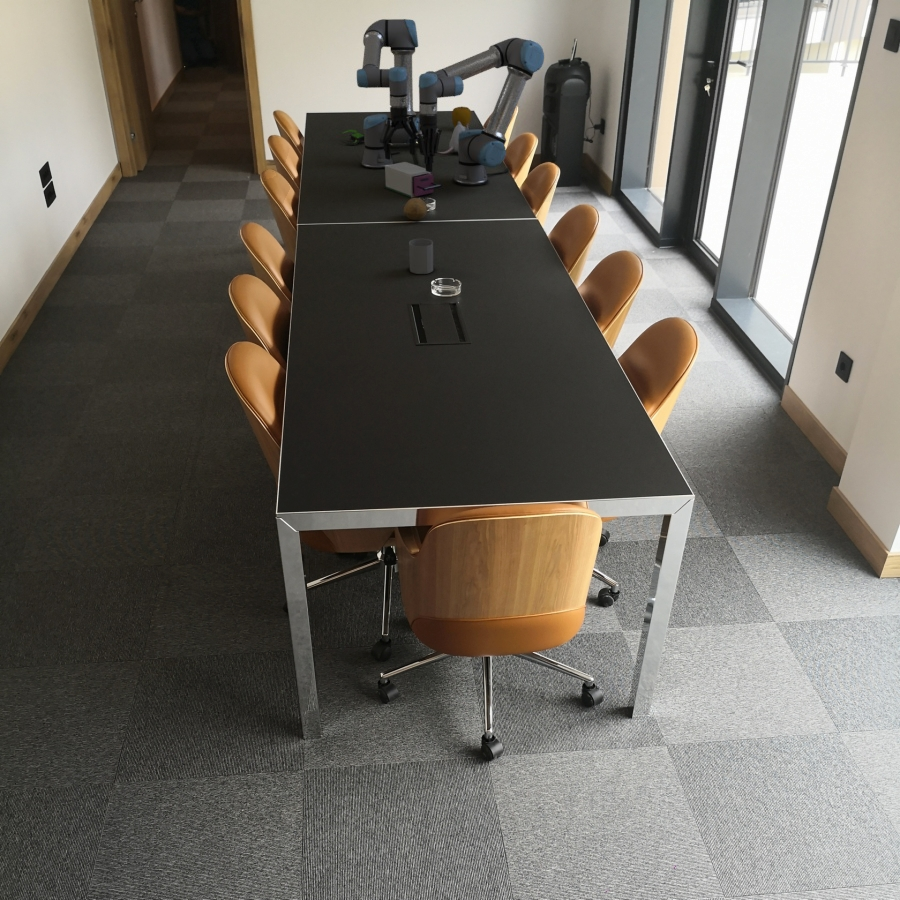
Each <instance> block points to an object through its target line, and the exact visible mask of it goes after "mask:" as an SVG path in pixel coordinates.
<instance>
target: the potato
mask: <svg viewBox="0 0 900 900" xmlns="http://www.w3.org/2000/svg"><path fill="white" fill-rule="evenodd" d="M427 213H428V205H427V203H426V202H425V201H424V200H423V199H421V198H420V197H411V198H410V199H408V201H407V202H406V203H405V204H404V207H403V214H404V216H406V217H407V219H409V220H412V221H420V220H422V219H423V218H425V217H426V214H427Z"/></svg>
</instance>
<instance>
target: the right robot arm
mask: <svg viewBox="0 0 900 900" xmlns="http://www.w3.org/2000/svg"><path fill="white" fill-rule="evenodd" d="M544 61H545V52H544V49H543V46H542V45H541V44H540V43H538V42H536V41H534V40H531V39H526V38H525V39H524V38H520V37H511V38H507V39H504V40H502V41H499V42H496V43H495V44H492V45H490V46H489V47H488V49H486V50H484V51H482V52H479V53H477V54H474V55H472V56H470V57H467V58H465V59H463V60H460V61H457V62H455V63H453V64H451V65H448V66H446V67H443V68H440V69H437V70H436V71H433V70H428V71H426V72H425V73H421V74H420V75H419V77H418V99H419V100H418V102H419V103H418V110H419V111H418V112H419V117H418V118H419V130H418V133H415V135H416V137H417V144H418V149H419V154H420V155H421V156H423V158H424V159H423V160H424V161H423V162H424V164H425V169H426V171H428V172H431V173H432V172H433V164H434V157H436V154H438V152H439V151H438V150H439V144H440V138H441V134H442V132H443V130H442V129H440V128H438V114H437V113H438V99H441V98H451V97H458V96H461V95H462V94H463V93H464V88H465V87H464V86H465V85H464V81H465V80H467V79H470V78H473V77H475V76H477V75H480V74H482V73H484V72H487V71H489V70H491V69H500V68H503V67H506V69H507V76H506V77H505V81H504V83H503V86H502V88H501V90H500V93H499V95H498V98H497V100H496V103H495V106H494V109H493V111H492V114H491V115H490V118H489V121H488V122H487V123H488V124H487V126H486V127H485V128H483V129H477V128H476V129H469V130H464V131H461V132H460V133H459V139H458V141H459V154H458V166H457V167H456V168H457V169H456V171H455V175H454V184H457V185H460V186H465V187H478V186H482V185H483V186H484V185H485V184H487V183H488V176H494V175H502V174H506V173H507V172H508V171H509V170H510V169H509V168H510V167H507V168H506V170H504V171H500V172H492V173H487V171H486V168H485V167H488V168H496V167H498V166H499V165H501V164H502V163H503V162H504V160H505V158H506V156H507V150H506V146H505V145H506V142H507V138H506V134H507V130H508V128H509V125H510V124H511V120H512V119H513V116H514V113H515V111H516V109H517V107H518V104H519V101H520V99H521V96H522V94H523V91H524V88H525V86H526V84H527V82H528V81H530V80H531V79H533V76H534V74H535V73H536V72H538V71H540V70H541V68H542V67H543V65H544Z"/></svg>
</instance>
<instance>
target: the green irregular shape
mask: <svg viewBox="0 0 900 900" xmlns="http://www.w3.org/2000/svg"><path fill="white" fill-rule="evenodd" d="M349 132H352V133H351V134H349V136H350V138H349V140H350V141H353V142H348V141H345V140H342V139H340V142H342V143H344V144H345V145H349V146H356V145H358V144H360V143H362V142H365V140H364V133H362V132H359V131H358V130H357V129H346V130H345V131H342V132H340V134H345V133H349Z"/></svg>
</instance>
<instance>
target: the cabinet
mask: <svg viewBox="0 0 900 900" xmlns="http://www.w3.org/2000/svg"><path fill="white" fill-rule="evenodd" d="M384 174H385V175H384V176H385V189H387V190H390V191H391V192H395V193H398V194H400V195H403V196H405V197H408V198H410V199H412V198H417V196H414V194H413V187H412V177H413V176H418V175H422V174H432V172H428V171H426V167H422V166H419V165H416V164H413V163H410V162H407V161H402V162H397V163H393V164H392V165H387V166H385V168H384ZM428 194H430V193H428ZM428 194H427V195H428Z"/></svg>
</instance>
